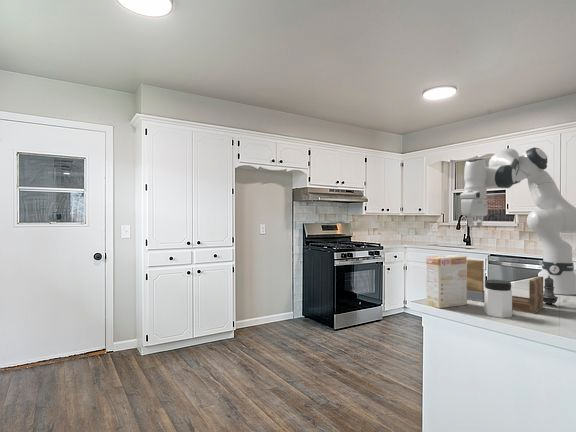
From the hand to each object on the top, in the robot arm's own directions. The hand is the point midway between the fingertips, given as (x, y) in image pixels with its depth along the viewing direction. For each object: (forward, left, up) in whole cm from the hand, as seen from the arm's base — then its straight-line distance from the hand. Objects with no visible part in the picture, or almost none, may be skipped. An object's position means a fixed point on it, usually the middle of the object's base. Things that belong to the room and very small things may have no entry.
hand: (475, 226), depth 161 cm
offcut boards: (+9, +18, -31) cm, 37 cm away
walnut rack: (+7, +19, -31) cm, 37 cm away
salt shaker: (-5, +26, -31) cm, 41 cm away
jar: (+25, +17, -31) cm, 44 cm away
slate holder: (+4, +1, -31) cm, 31 cm away
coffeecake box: (+24, -2, -31) cm, 39 cm away
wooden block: (+4, +1, -31) cm, 31 cm away
